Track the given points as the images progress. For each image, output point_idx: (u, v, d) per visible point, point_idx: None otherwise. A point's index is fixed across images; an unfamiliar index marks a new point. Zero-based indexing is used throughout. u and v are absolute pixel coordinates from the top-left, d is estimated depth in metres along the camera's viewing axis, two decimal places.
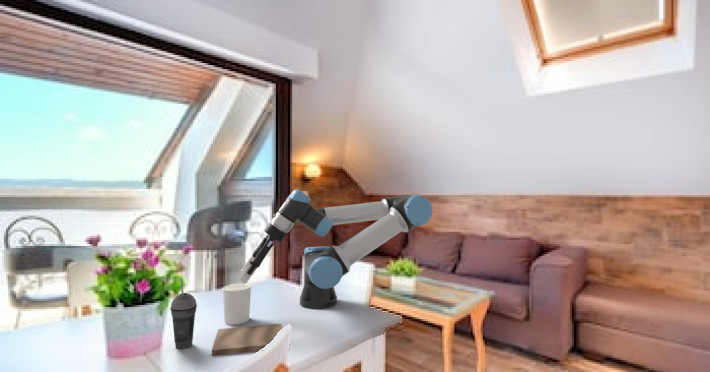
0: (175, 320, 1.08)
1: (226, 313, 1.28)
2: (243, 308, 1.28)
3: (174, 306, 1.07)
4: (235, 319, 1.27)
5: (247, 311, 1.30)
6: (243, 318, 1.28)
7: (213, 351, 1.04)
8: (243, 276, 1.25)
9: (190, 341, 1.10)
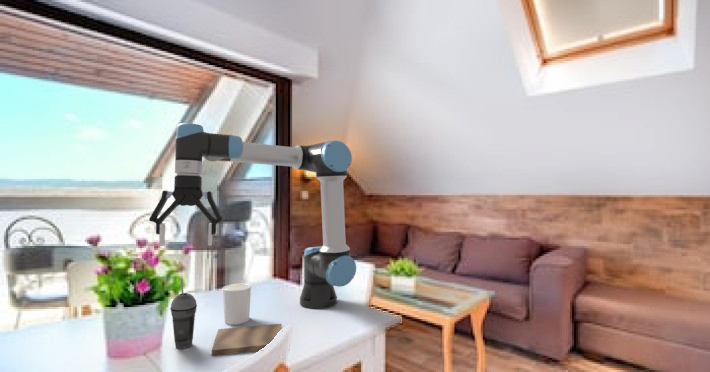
0: (175, 320, 1.08)
1: (226, 313, 1.28)
2: (243, 308, 1.28)
3: (174, 306, 1.07)
4: (235, 319, 1.27)
5: (247, 311, 1.30)
6: (243, 318, 1.28)
7: (213, 351, 1.04)
8: (211, 239, 1.12)
9: (190, 341, 1.10)
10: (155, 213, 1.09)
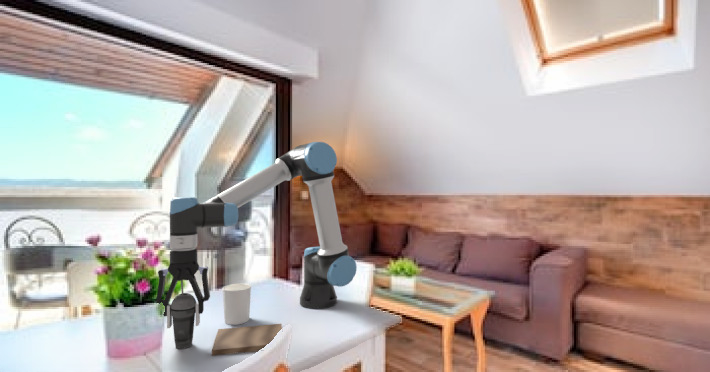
0: (175, 320, 1.08)
1: (226, 313, 1.28)
2: (243, 308, 1.28)
3: (174, 306, 1.07)
4: (235, 319, 1.27)
5: (247, 311, 1.30)
6: (243, 318, 1.28)
7: (213, 351, 1.04)
8: (198, 319, 1.11)
9: (190, 341, 1.10)
10: (159, 295, 1.08)
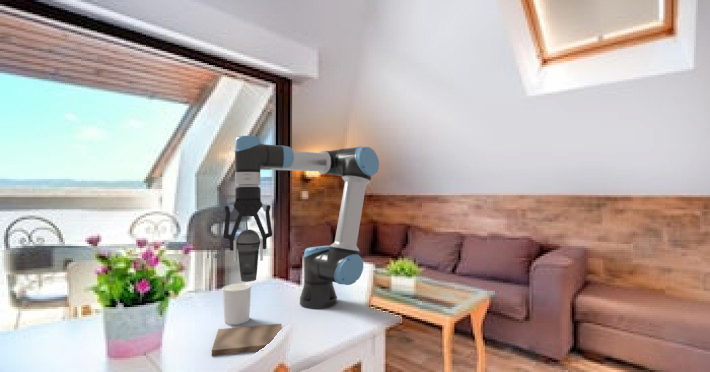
0: (241, 254, 1.11)
1: (226, 313, 1.28)
2: (243, 308, 1.28)
3: (241, 240, 1.11)
4: (235, 319, 1.27)
5: (247, 311, 1.30)
6: (243, 318, 1.28)
7: (213, 351, 1.04)
8: (262, 254, 1.14)
9: (255, 275, 1.13)
10: (226, 229, 1.11)
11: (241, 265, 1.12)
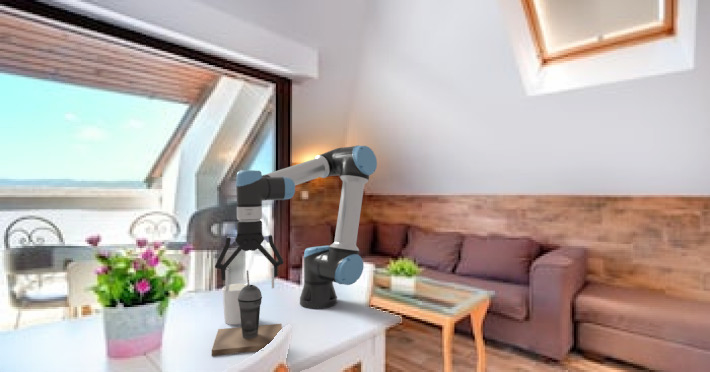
0: (243, 311, 1.11)
1: (226, 313, 1.28)
2: None
3: (243, 297, 1.11)
4: (235, 319, 1.27)
5: None
6: None
7: (213, 351, 1.04)
8: None
9: (256, 331, 1.13)
10: (220, 260, 1.11)
11: (243, 322, 1.12)
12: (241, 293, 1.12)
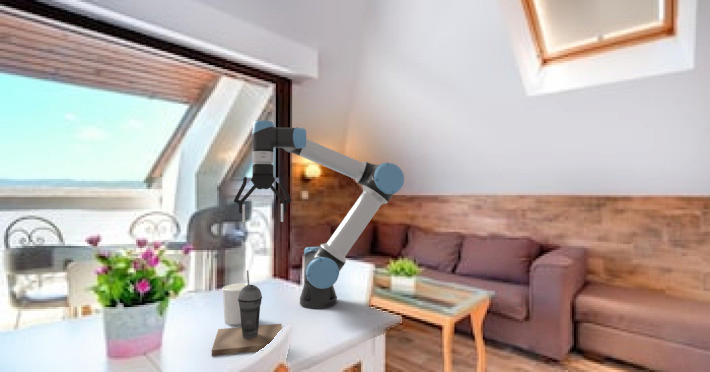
0: (243, 311, 1.11)
1: (226, 313, 1.28)
2: None
3: (243, 297, 1.11)
4: (235, 319, 1.27)
5: None
6: None
7: (213, 351, 1.04)
8: None
9: (256, 331, 1.13)
10: (238, 195, 1.31)
11: (243, 322, 1.12)
12: (241, 293, 1.12)
